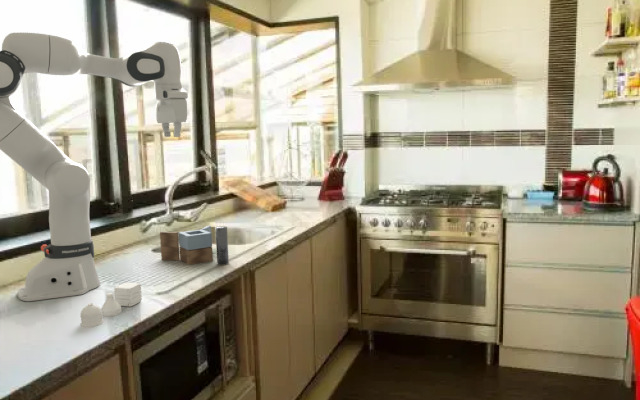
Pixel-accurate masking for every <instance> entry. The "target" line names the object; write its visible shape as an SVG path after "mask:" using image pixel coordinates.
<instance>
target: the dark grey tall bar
mask: <svg viewBox="0 0 640 400" xmlns="http://www.w3.org/2000/svg"><path fill="white" fill-rule="evenodd" d="M228 237H229V236H228V226H225V225H222V226H215V240H216V241H215V243H216V264H217V263H218V264H217V265H219V264H225V265H228V264H230V262H229V241H228V239H229V238H228Z"/></svg>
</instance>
